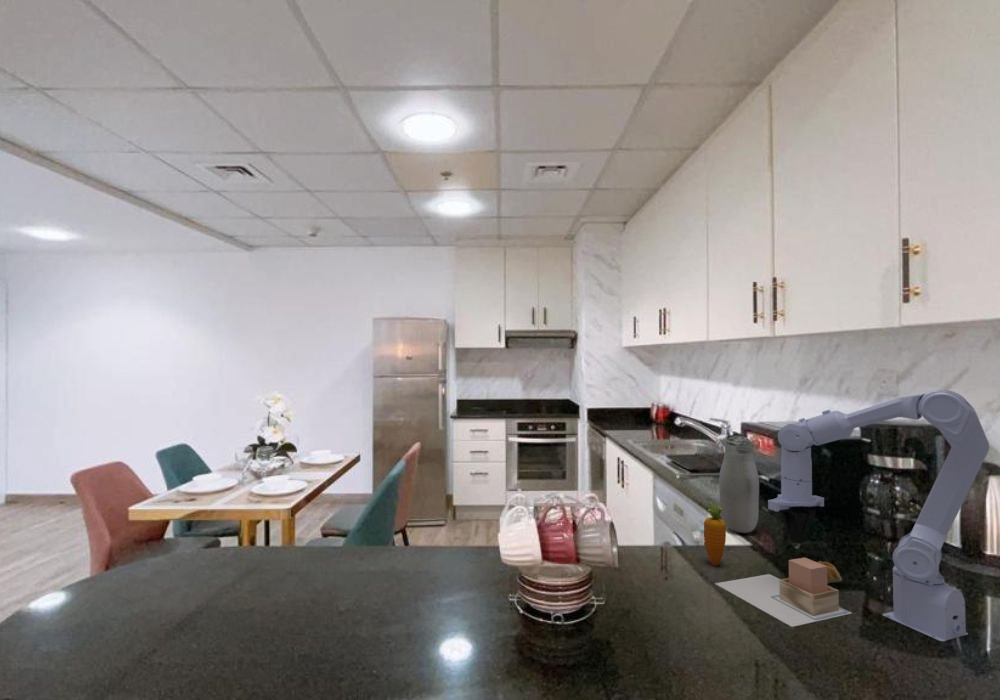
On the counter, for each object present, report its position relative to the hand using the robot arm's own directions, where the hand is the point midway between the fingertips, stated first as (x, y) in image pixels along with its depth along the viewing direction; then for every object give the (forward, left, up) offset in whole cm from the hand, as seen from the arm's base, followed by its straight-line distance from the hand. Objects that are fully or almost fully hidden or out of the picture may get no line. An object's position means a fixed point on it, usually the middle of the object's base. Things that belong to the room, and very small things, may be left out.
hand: (796, 541), depth 101 cm
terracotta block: (-7, +6, -6) cm, 11 cm away
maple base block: (-7, +6, -9) cm, 13 cm away
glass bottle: (+32, -18, -10) cm, 38 cm away
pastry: (+1, -8, -10) cm, 14 cm away
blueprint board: (-3, +9, -10) cm, 14 cm away
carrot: (+14, +9, -10) cm, 19 cm away
